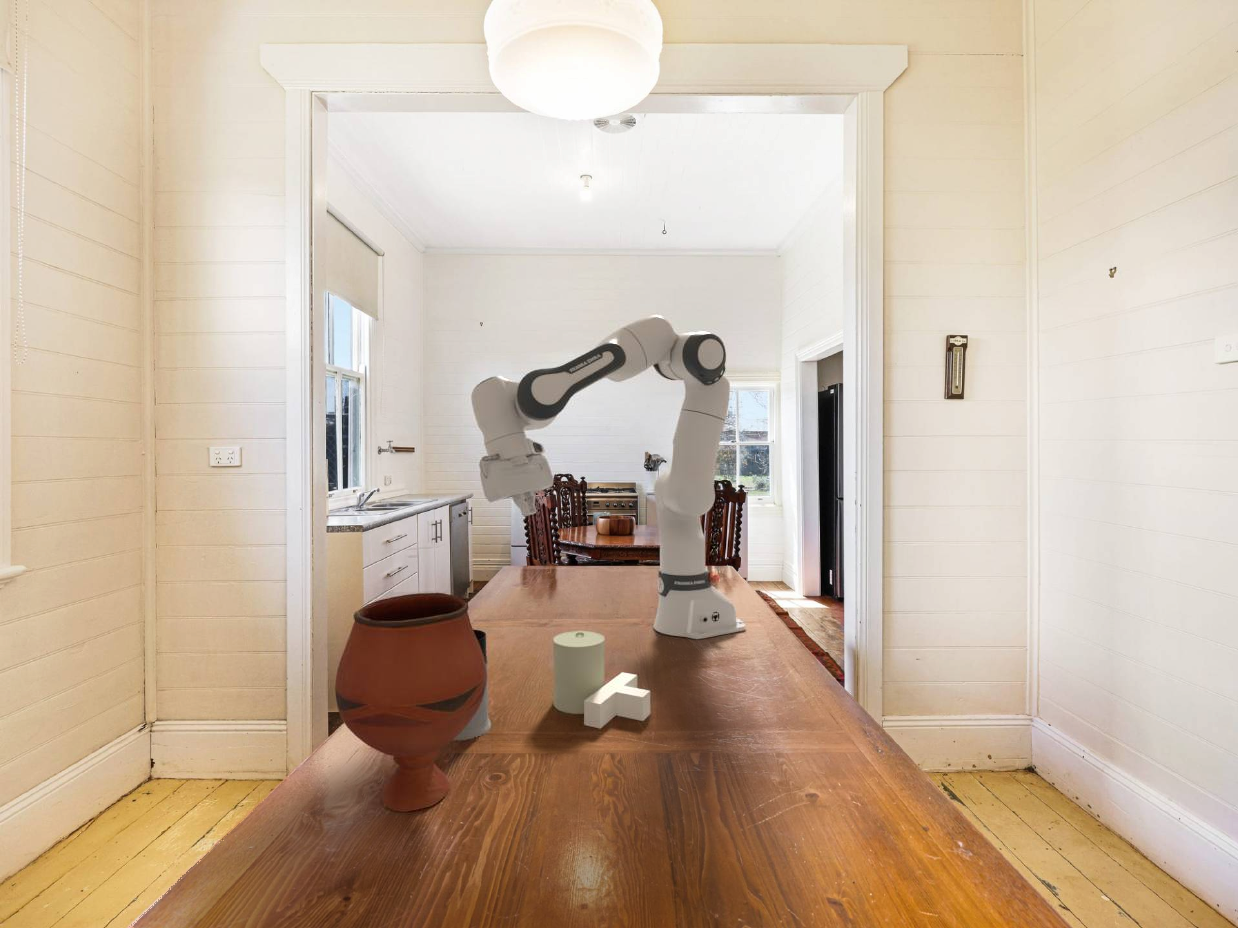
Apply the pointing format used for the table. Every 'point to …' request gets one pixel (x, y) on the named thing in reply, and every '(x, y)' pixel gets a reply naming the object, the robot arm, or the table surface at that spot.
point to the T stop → (617, 702)
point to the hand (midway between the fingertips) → (530, 514)
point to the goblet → (411, 687)
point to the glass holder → (480, 719)
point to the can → (577, 669)
